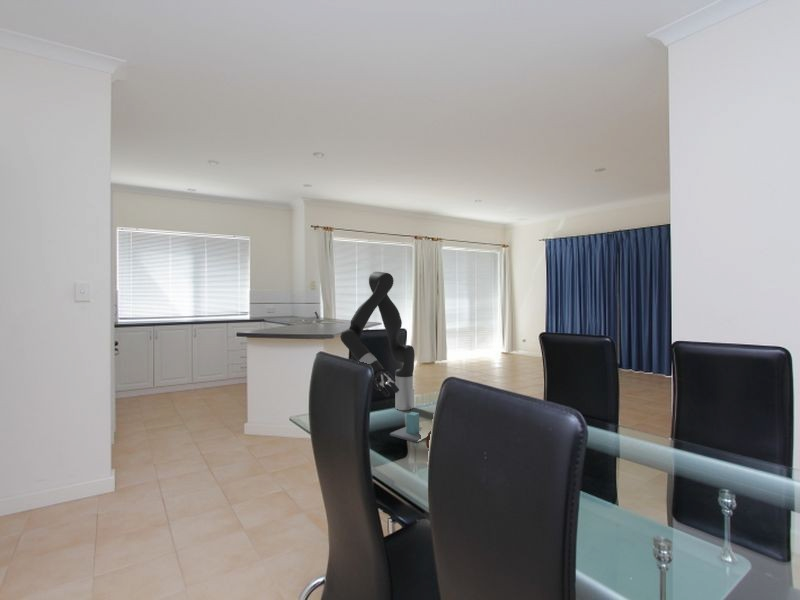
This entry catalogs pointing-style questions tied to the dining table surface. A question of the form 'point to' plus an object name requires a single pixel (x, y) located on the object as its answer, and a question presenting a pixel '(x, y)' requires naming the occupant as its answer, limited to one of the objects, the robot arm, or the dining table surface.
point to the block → (412, 422)
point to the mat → (406, 435)
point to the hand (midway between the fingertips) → (393, 393)
